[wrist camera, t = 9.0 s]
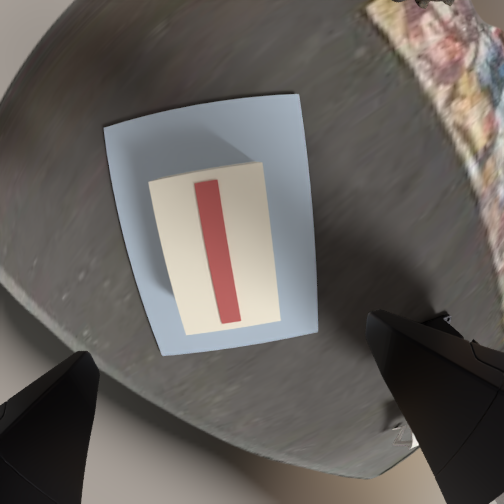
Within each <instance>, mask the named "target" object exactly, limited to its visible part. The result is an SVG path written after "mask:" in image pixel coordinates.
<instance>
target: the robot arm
mask: <svg viewBox="0 0 504 504" xmlns="http://www.w3.org/2000/svg"><path fill="white" fill-rule="evenodd" d="M450 321H451V316H450V315H449V314H446V315H443V316H441V317H438V318H436V319H433V320H431V321H428V322H425V323H423V324H420V323H417V322H414V321H411V320H408V319H406V318H403V317H400V316H397V315H395V314H392V313H389V312H387V311H384V310H381V309H379V310H375V311H371V312H369V313H368V316H367V325H366V340H367V342H368V344H369V347H370V349H371V351H372V354H373V356H374V358H375V361H376V363H377V366H378V368H379V370H380V373H381V375H382V377H383V379H384V381H385V383H386V384H387V386H388V388H389V390H390V392H391V393H392V395H393V397H394V399H395V401H396V402H397V404H398V406H399V408H400V410H401V412H402V413H403V415H404V417H405V419H406V421H407V423H408V425H409V427H410V429H411V430H412V432H413V434H414V436H415V438H416V440H417V442H418V444H419V446H420V448H421V450H422V452H423V454H424V456H425V458H426V460H427V462H428V464H429V466H430V468H431V470H432V472H433V474H434V476H435V479H436V481H437V483H438V485H439V488H440V489H441V492H442V494H443V496H444V499H445V501H446V503H447V504H489V503H490V502H492V501H493V500H495V501H496V502H497V504H504V352H501V351H497V350H494V349H491V348H488V347H484V346H481V345H480V344H479V343H478V342H476V341H475V340H474V339H473V340H472V342H469V341H467V340H464V337H463V336H462V335H461V334H460V333H459V332H458V331H457V330H455V329H454V328H453V327H452V326H451V325H450ZM99 378H100V373H99V369H98V367H97V366H96V364H95V362H94V360H93V358H92V356H91V354H90V353H89V352H88V351H77V352H76V353H74V354H73V355H71V356H70V357H68V358H67V359H65V360H64V361H62V362H61V363H60V364H58V365H57V366H55V367H54V368H52V369H51V370H50V371H48V372H47V373H45V374H44V375H42V376H41V377H40V378H38V379H37V380H35V381H34V382H32V383H31V384H30V385H28V386H27V387H25V388H24V389H23V390H21V391H20V392H18V393H17V394H16V395H14V396H13V397H11V398H10V399H9V400H8V401H7V402H4V403H3V404H2V405H0V504H81V498H82V488H83V480H84V472H85V465H86V458H87V452H88V446H89V441H90V436H91V430H92V425H93V421H94V415H95V409H96V400H97V392H98V384H99Z"/></svg>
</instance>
